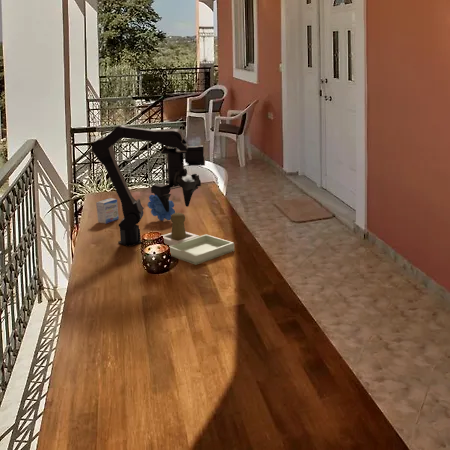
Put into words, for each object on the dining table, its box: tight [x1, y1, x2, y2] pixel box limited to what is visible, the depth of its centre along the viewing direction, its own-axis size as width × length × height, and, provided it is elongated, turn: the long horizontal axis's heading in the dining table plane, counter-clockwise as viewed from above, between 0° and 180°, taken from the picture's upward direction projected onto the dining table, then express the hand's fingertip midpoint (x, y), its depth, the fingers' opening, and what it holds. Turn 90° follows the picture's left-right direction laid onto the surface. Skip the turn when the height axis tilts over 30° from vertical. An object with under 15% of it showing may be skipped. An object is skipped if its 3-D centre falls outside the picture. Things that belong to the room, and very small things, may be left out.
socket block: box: [161, 231, 200, 246], centre depth 208 cm, size 10×10×2 cm
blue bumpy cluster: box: [147, 193, 176, 222], centre depth 233 cm, size 12×7×12 cm, turn 77°
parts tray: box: [169, 233, 235, 266], centre depth 197 cm, size 18×14×3 cm
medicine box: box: [95, 197, 120, 225], centre depth 235 cm, size 8×4×9 cm, turn 147°
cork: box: [170, 212, 187, 241], centre depth 206 cm, size 6×6×11 cm
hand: (177, 209), depth 204 cm, fingers open, 9 cm apart
